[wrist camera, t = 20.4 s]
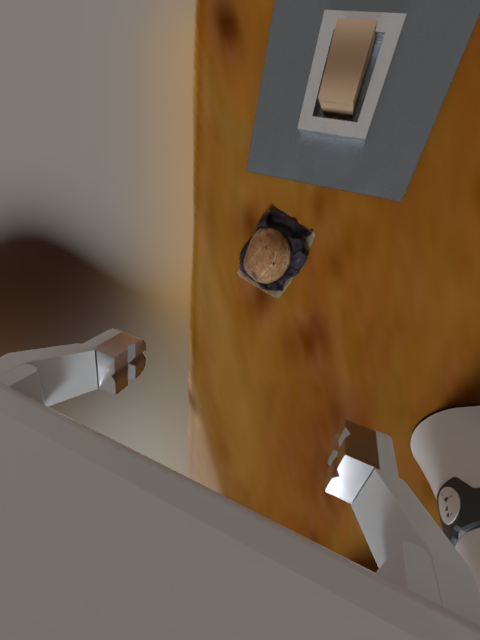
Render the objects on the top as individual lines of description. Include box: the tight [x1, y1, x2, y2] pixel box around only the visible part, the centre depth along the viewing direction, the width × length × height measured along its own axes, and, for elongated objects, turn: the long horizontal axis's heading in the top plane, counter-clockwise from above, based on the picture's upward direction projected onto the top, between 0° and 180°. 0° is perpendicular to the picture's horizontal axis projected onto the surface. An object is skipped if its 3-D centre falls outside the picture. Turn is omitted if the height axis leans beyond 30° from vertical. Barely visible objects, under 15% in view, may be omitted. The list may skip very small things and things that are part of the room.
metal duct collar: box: [246, 0, 480, 202], centre depth 27 cm, size 18×18×4 cm
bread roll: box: [237, 209, 315, 299], centre depth 36 cm, size 11×8×4 cm
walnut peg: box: [318, 18, 377, 119], centre depth 25 cm, size 5×3×6 cm, turn 170°
